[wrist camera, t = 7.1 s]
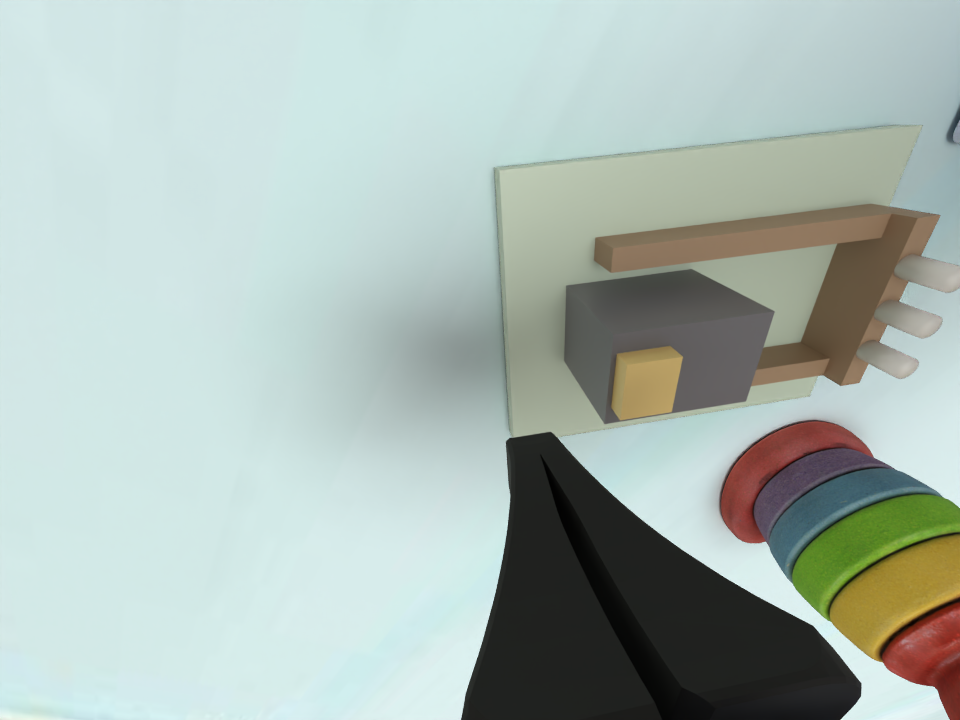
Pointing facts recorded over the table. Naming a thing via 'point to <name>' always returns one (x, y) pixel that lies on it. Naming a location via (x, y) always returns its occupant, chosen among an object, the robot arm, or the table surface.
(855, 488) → the stacking bear
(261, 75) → the table surface
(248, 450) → the table surface
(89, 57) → the table surface
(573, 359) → the plug block
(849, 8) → the table surface
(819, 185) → the board
